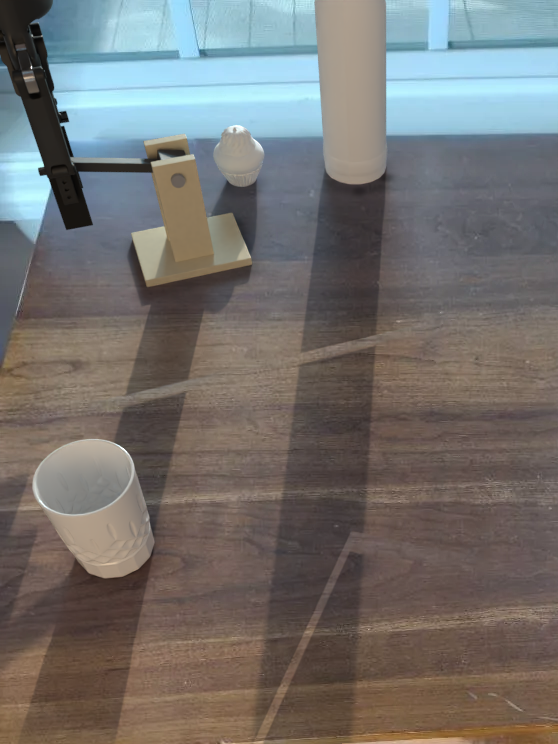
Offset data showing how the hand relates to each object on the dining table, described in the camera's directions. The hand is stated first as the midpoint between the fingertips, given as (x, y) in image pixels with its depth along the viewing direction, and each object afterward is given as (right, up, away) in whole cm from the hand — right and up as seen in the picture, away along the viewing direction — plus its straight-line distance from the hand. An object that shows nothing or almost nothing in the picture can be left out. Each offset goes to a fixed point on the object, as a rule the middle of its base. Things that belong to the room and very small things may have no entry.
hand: (74, 206), depth 90 cm
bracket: (+10, -2, +9) cm, 14 cm away
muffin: (+14, +10, +18) cm, 25 cm away
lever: (+5, +3, -1) cm, 6 cm away
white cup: (+9, -36, -14) cm, 39 cm away
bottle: (+28, +12, +20) cm, 37 cm away
